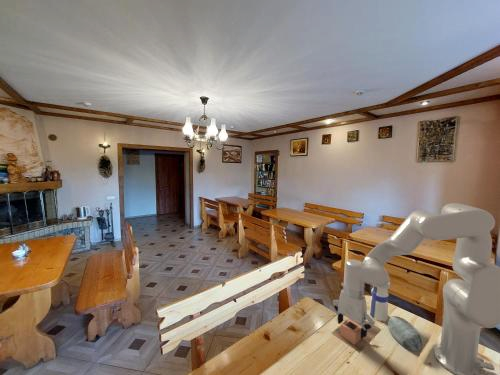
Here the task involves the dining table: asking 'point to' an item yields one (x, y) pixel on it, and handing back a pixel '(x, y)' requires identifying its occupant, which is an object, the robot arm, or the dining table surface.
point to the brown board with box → (362, 342)
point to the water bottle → (379, 303)
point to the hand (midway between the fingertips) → (351, 329)
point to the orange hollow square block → (351, 331)
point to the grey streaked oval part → (404, 333)
